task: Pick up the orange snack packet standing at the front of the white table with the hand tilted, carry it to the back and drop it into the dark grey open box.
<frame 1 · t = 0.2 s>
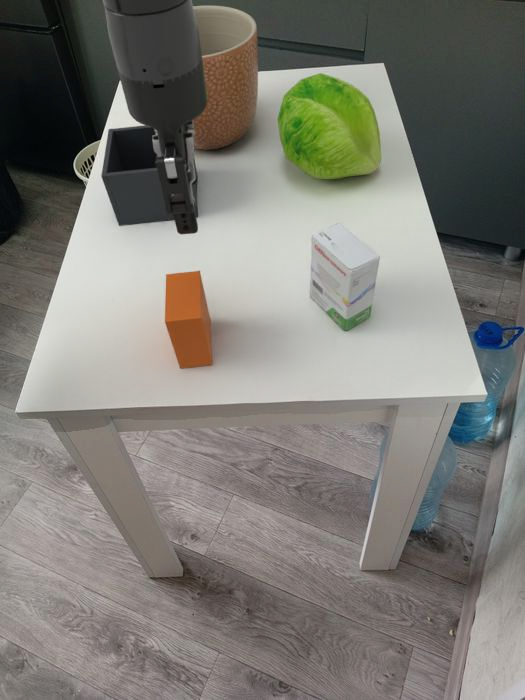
hand: (188, 206, 58), 20 cm above the table, tool pointing down, fingers open, 8 cm apart
lettuce: (328, 170, 94), on the table
planter: (211, 134, 103), on the table
dark grey open box: (159, 196, 92), on the table
packet: (195, 343, 71), on the table
ink box: (339, 307, 74), on the table
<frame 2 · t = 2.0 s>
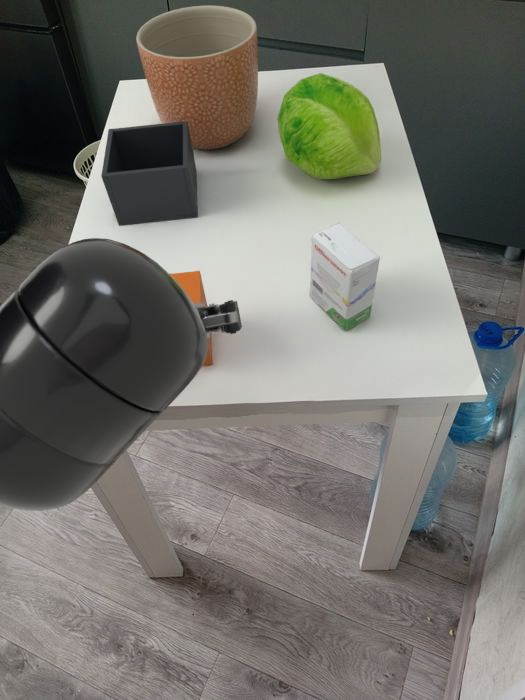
hand: (169, 324, 52), 17 cm above the table, tool tilted 45°, fingers open, 8 cm apart
nothing on the table moved.
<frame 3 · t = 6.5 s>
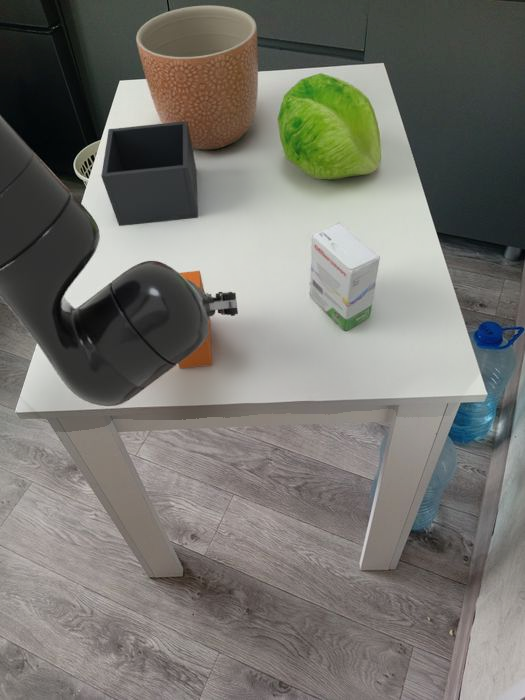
hand: (187, 304, 68), 6 cm above the table, tool tilted 45°, fingers closed on packet, 4 cm apart
packet: (195, 343, 71), on the table, touching gripper
everything else where it was.
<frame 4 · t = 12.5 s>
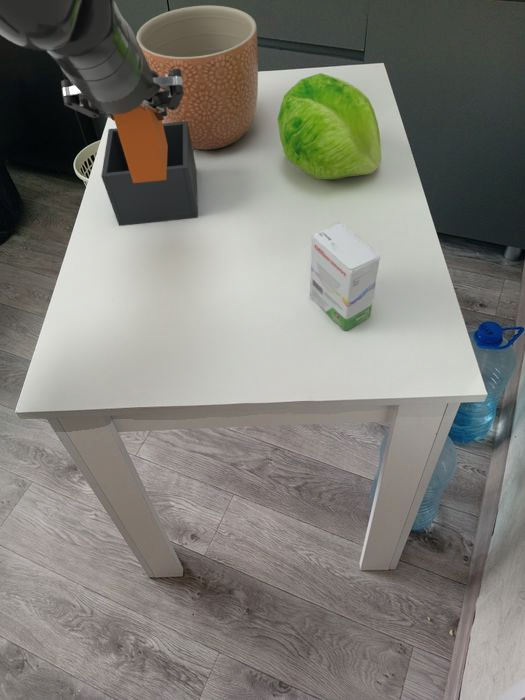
hand: (140, 114, 66), 22 cm above the table, tool tilted 45°, fingers closed on packet, 4 cm apart
packet: (151, 164, 70), point 16 cm above the table, touching gripper
everything else where it was.
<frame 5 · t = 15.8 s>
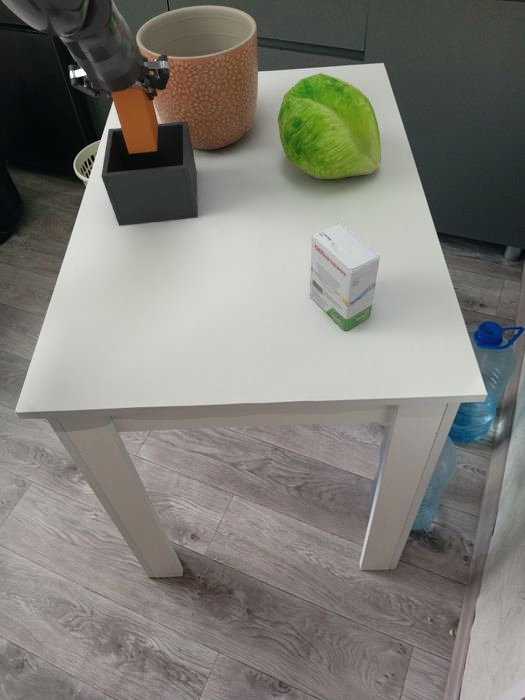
hand: (134, 95, 79), 17 cm above the table, tool tilted 45°, fingers closed on packet, 4 cm apart
packet: (144, 138, 82), point 11 cm above the table, touching gripper
everything else where it was.
when the fingers open (9 cm above the table, at t = 18.6 s): packet drops 2 cm, resting on dark grey open box.
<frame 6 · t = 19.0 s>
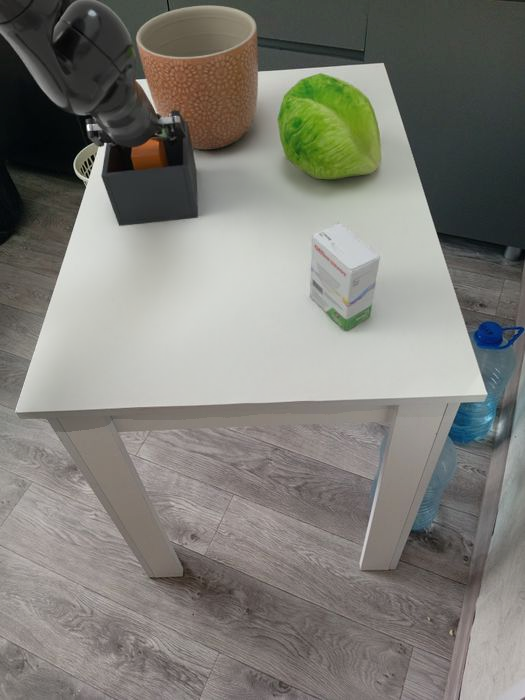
hand: (146, 141, 84), 10 cm above the table, tool tilted 45°, fingers open, 8 cm apart
packet: (159, 193, 91), point 1 cm above the table, touching dark grey open box
everything else where it was.
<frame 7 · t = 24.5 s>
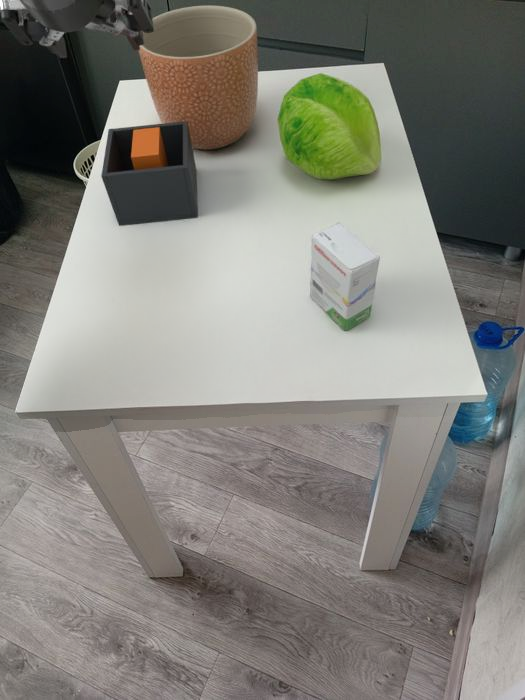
hand: (99, 45, 59), 31 cm above the table, tool tilted 45°, fingers open, 8 cm apart
nothing on the table moved.
at the end: packet inside the target area in the dark grey open box (0.1 cm from its centre), point 0.8 cm above the dark grey open box's base; the gripper is holding nothing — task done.
